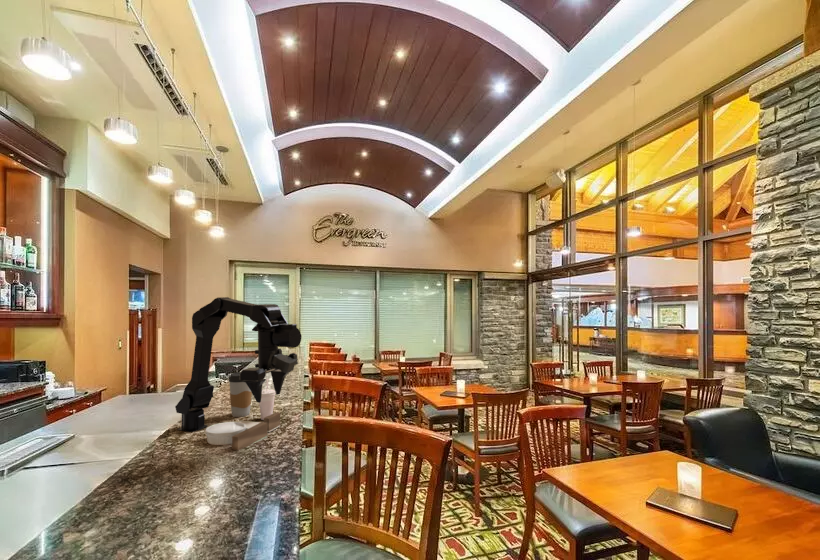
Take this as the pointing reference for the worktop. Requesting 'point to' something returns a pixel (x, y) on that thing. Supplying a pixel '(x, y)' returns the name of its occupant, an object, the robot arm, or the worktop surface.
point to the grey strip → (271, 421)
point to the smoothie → (267, 402)
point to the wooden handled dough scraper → (249, 436)
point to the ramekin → (223, 432)
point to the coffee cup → (239, 396)
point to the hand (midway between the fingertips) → (268, 398)
